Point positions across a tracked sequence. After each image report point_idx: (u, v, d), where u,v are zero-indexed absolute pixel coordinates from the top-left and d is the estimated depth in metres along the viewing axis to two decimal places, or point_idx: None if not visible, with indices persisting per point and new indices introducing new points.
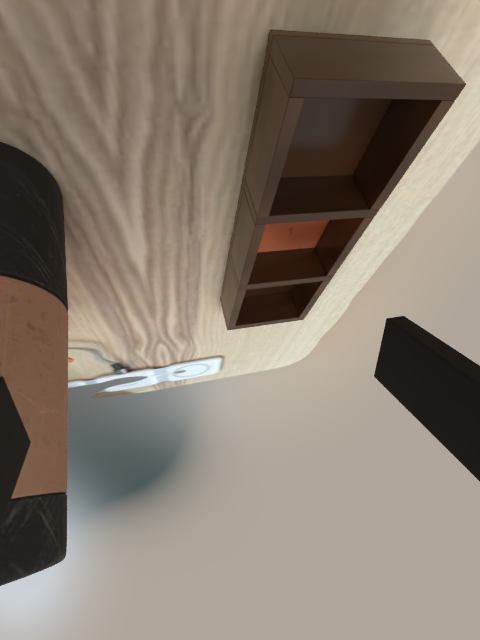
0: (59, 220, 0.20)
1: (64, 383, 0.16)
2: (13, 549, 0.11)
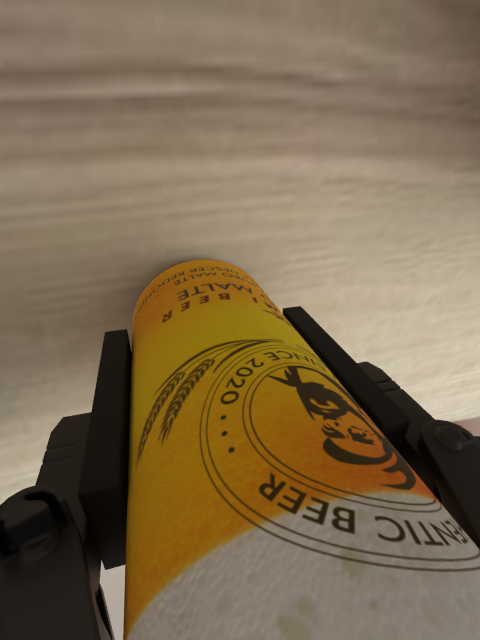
0: None
1: None
2: None
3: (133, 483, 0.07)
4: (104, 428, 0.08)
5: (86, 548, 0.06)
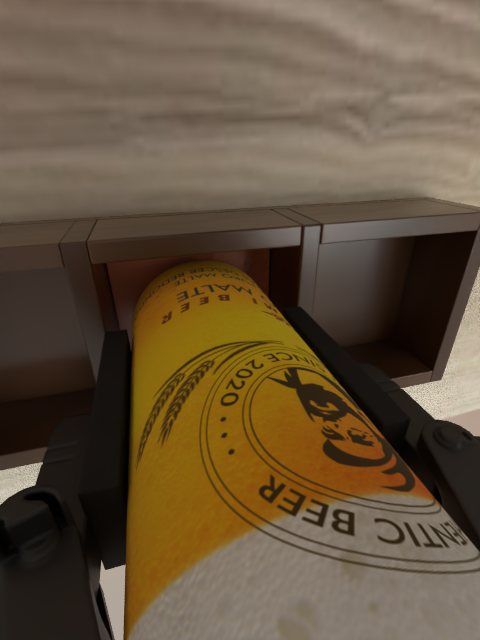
0: None
1: None
2: None
3: (133, 485, 0.07)
4: (104, 428, 0.08)
5: (86, 548, 0.06)
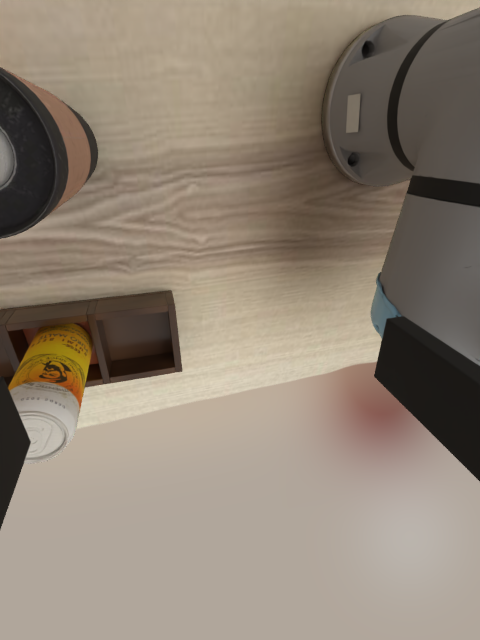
0: None
1: None
2: (45, 216, 0.17)
3: None
4: None
5: None
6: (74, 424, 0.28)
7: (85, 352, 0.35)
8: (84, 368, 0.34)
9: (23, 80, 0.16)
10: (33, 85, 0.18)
